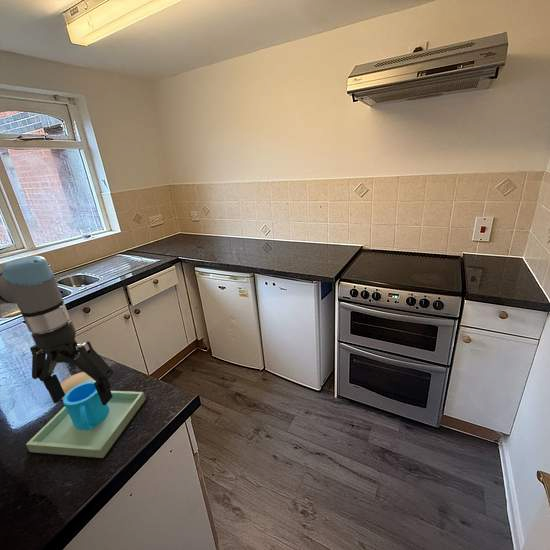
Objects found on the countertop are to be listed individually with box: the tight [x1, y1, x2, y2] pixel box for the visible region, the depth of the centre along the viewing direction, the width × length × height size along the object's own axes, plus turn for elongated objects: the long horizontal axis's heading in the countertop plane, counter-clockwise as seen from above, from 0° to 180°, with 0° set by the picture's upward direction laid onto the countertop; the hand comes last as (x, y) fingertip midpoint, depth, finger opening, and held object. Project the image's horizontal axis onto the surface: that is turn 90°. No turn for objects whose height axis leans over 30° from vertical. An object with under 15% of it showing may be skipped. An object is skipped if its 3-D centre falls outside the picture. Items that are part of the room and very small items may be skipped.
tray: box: [25, 390, 147, 459], centre depth 76 cm, size 20×18×2 cm
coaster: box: [60, 371, 95, 401], centre depth 91 cm, size 12×12×1 cm
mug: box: [62, 381, 109, 431], centre depth 75 cm, size 12×8×8 cm
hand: (83, 400), depth 74 cm, fingers open, 13 cm apart
